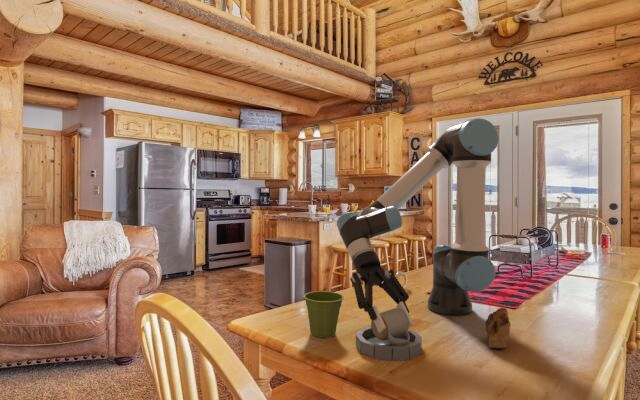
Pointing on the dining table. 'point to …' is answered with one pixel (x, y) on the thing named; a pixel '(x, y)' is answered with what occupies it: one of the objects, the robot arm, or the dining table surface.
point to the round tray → (388, 346)
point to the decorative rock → (498, 328)
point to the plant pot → (323, 312)
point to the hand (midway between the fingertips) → (396, 328)
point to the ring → (403, 276)
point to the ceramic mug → (393, 326)
